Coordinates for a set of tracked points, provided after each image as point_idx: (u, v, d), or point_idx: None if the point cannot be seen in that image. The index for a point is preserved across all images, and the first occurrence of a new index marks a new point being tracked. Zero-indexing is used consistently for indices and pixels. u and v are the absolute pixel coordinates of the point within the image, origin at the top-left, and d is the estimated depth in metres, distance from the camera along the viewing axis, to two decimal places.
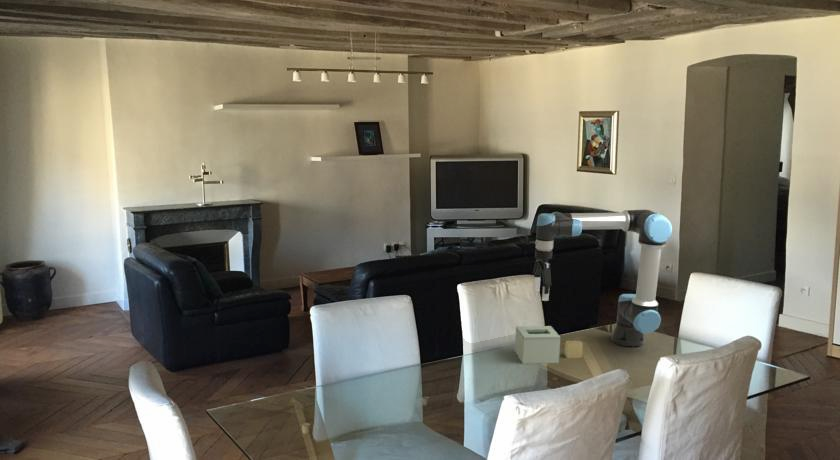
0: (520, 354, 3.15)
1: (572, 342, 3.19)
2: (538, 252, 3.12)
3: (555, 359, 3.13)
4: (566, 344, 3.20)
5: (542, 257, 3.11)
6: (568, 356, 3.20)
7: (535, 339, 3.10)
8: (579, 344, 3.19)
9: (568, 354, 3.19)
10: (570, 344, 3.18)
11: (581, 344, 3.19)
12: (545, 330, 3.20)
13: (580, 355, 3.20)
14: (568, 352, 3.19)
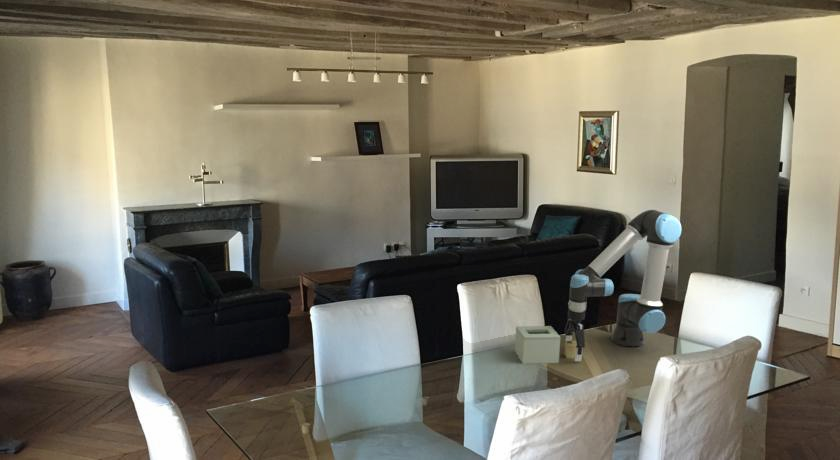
0: (520, 354, 3.15)
1: (572, 342, 3.19)
2: (571, 313, 3.15)
3: (555, 359, 3.13)
4: (566, 344, 3.20)
5: (575, 318, 3.14)
6: (568, 356, 3.20)
7: (535, 339, 3.10)
8: None
9: (568, 354, 3.19)
10: (570, 344, 3.18)
11: None
12: (545, 330, 3.20)
13: None
14: (568, 352, 3.19)
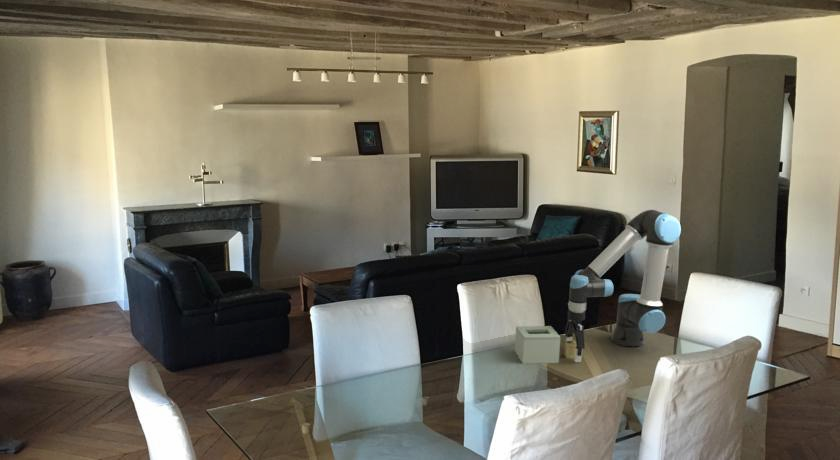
0: (520, 354, 3.15)
1: (572, 342, 3.19)
2: (571, 314, 3.15)
3: (555, 359, 3.13)
4: (566, 344, 3.20)
5: (575, 319, 3.14)
6: (568, 356, 3.20)
7: (535, 339, 3.10)
8: None
9: (568, 354, 3.19)
10: (570, 344, 3.18)
11: None
12: (545, 330, 3.20)
13: None
14: (568, 352, 3.19)
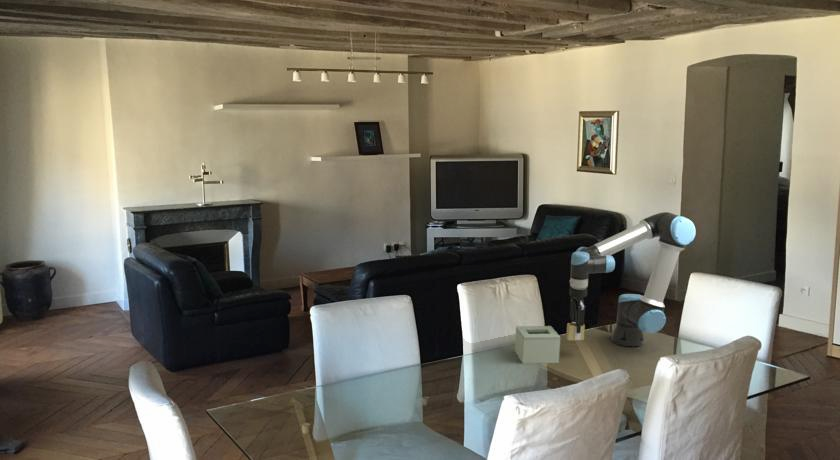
0: (520, 354, 3.15)
1: (574, 324, 3.18)
2: (573, 290, 3.13)
3: (555, 359, 3.13)
4: (568, 326, 3.18)
5: (577, 295, 3.12)
6: (570, 338, 3.18)
7: (535, 339, 3.10)
8: (581, 326, 3.17)
9: (570, 336, 3.18)
10: (572, 326, 3.17)
11: (583, 326, 3.17)
12: (545, 330, 3.20)
13: (582, 337, 3.19)
14: (570, 334, 3.18)
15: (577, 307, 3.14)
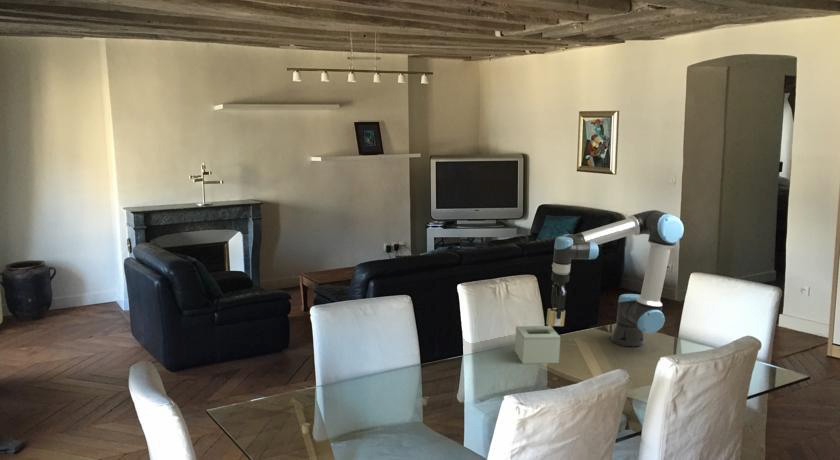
0: (520, 354, 3.15)
1: (554, 310, 3.15)
2: (555, 275, 3.10)
3: (555, 359, 3.13)
4: (548, 312, 3.15)
5: (559, 280, 3.09)
6: (550, 324, 3.15)
7: (535, 339, 3.10)
8: None
9: (550, 322, 3.15)
10: (552, 312, 3.14)
11: (563, 312, 3.15)
12: (545, 330, 3.20)
13: (562, 323, 3.16)
14: (550, 320, 3.15)
15: (558, 292, 3.12)
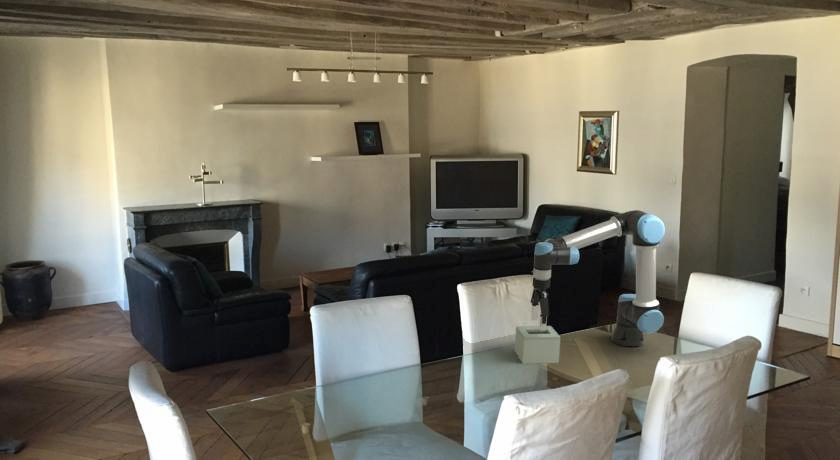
0: (520, 354, 3.15)
1: None
2: (536, 281, 3.10)
3: (555, 359, 3.13)
4: None
5: (540, 286, 3.09)
6: None
7: (535, 339, 3.10)
8: None
9: None
10: None
11: None
12: (545, 330, 3.20)
13: None
14: None
15: None
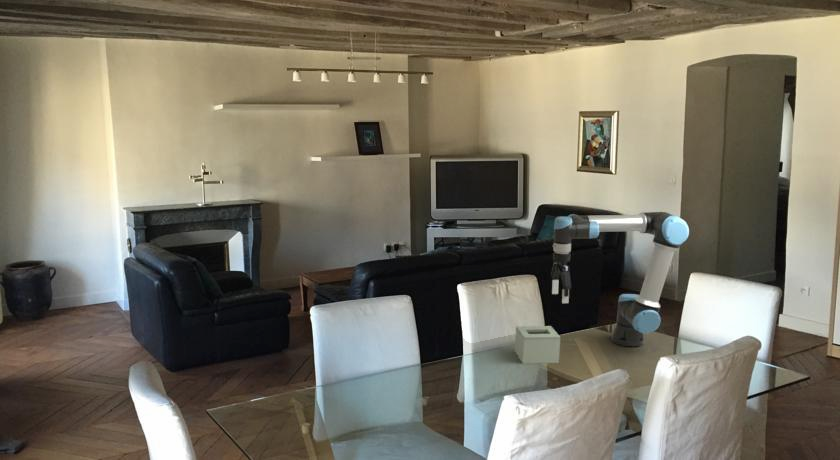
0: (520, 354, 3.15)
1: None
2: (556, 255, 3.14)
3: (555, 359, 3.13)
4: None
5: (561, 260, 3.13)
6: None
7: (535, 339, 3.10)
8: None
9: None
10: None
11: None
12: (545, 330, 3.20)
13: None
14: None
15: None
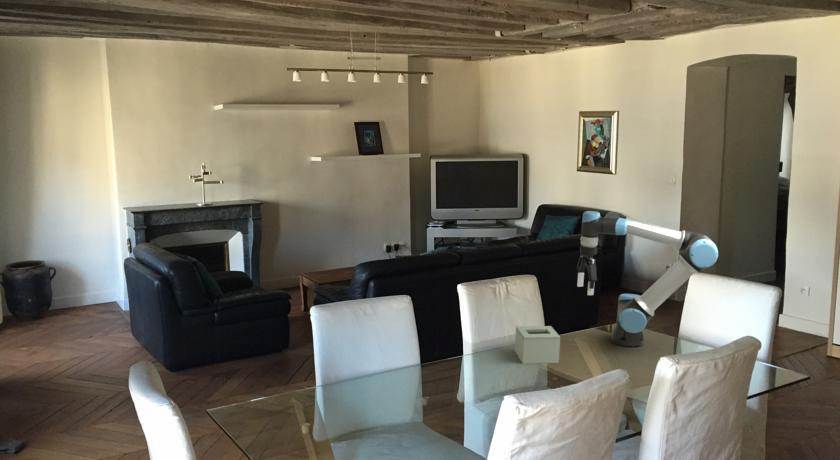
0: (520, 354, 3.15)
1: None
2: (583, 248, 3.23)
3: (555, 359, 3.13)
4: None
5: (587, 253, 3.22)
6: None
7: (535, 339, 3.10)
8: None
9: None
10: None
11: None
12: (545, 330, 3.20)
13: None
14: None
15: None
